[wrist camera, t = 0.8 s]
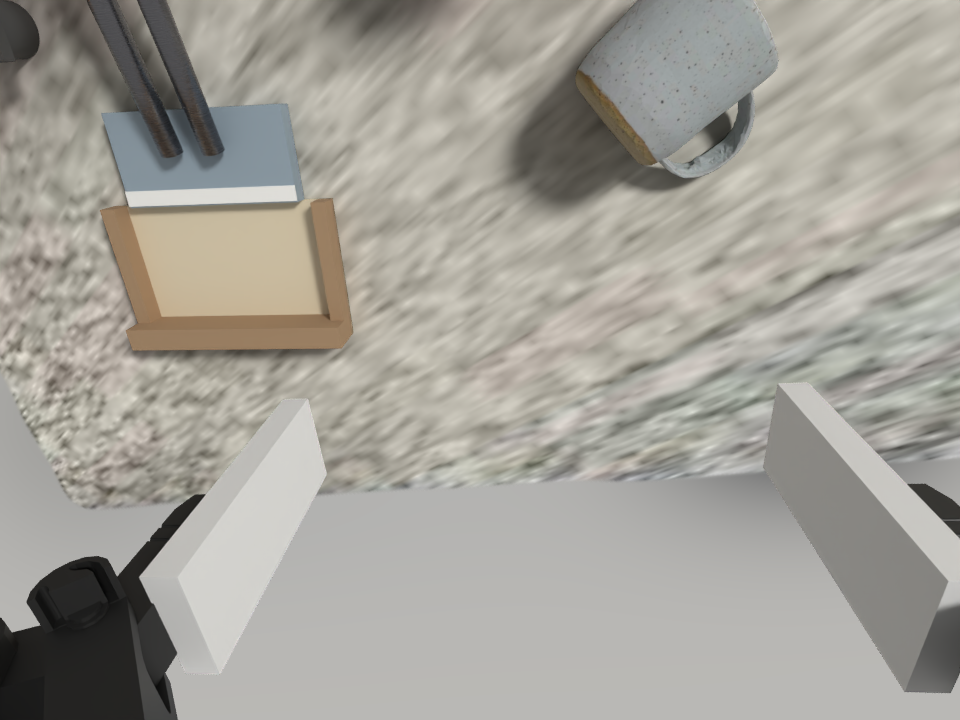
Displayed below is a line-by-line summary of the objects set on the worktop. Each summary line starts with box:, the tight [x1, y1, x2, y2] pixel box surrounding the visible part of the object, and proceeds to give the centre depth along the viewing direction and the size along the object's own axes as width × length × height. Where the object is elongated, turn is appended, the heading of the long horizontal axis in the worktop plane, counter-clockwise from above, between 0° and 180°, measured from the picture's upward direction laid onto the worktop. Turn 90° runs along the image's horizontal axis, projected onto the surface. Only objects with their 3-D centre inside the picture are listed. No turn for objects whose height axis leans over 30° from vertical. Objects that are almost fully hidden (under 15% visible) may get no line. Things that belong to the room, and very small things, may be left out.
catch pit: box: [100, 198, 353, 350], centre depth 39 cm, size 10×16×3 cm, turn 93°
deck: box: [101, 104, 304, 208], centre depth 36 cm, size 6×12×1 cm, turn 93°
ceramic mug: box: [575, 0, 779, 178], centre depth 30 cm, size 11×8×8 cm
